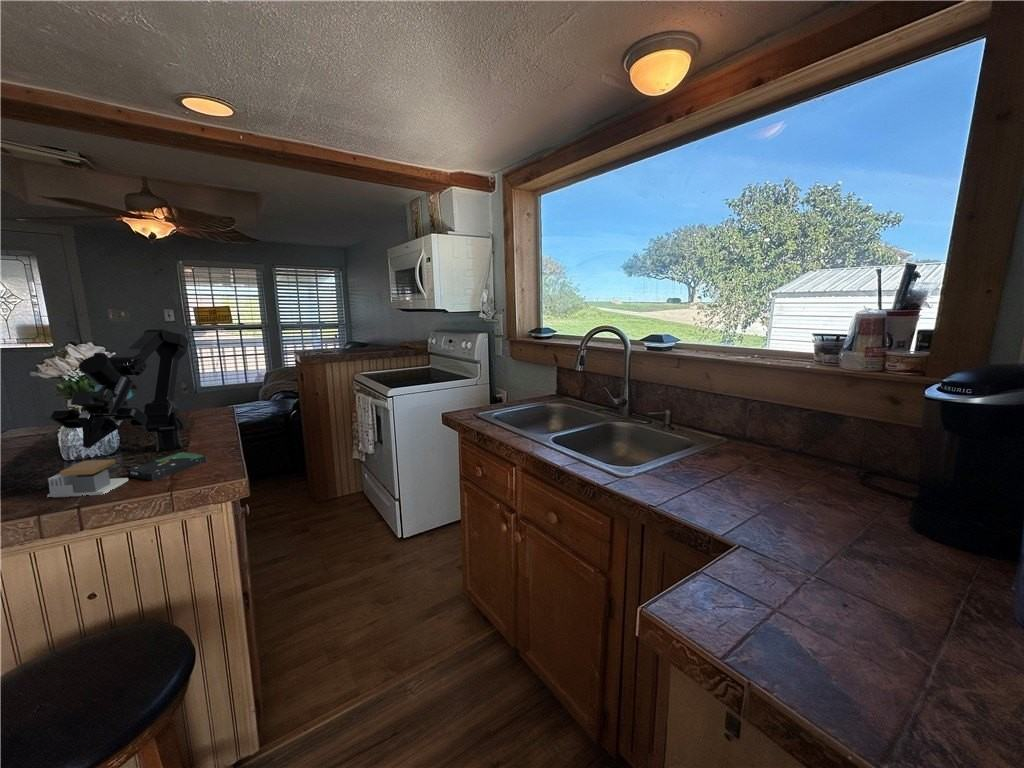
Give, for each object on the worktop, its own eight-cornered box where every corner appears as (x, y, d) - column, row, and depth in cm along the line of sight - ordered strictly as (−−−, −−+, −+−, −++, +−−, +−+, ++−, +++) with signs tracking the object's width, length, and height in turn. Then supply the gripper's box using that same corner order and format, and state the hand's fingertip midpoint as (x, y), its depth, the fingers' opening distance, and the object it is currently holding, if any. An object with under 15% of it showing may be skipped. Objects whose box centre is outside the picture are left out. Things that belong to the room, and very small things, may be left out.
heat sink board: (77, 483, 109) (73, 466, 109) (128, 480, 111) (125, 463, 110) (47, 497, 101) (43, 479, 100) (103, 494, 103) (99, 476, 102)
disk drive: (154, 483, 111) (208, 463, 125) (152, 473, 111) (206, 454, 125) (127, 478, 114) (183, 459, 128) (125, 469, 114) (181, 450, 128)
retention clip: (88, 482, 108) (84, 460, 107) (119, 480, 109) (115, 459, 108) (64, 494, 101) (59, 471, 100) (97, 492, 102) (93, 469, 101)
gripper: (48, 378, 104) (14, 434, 95) (132, 377, 107) (106, 431, 98) (81, 401, 113) (52, 454, 104) (158, 399, 116) (136, 450, 107)
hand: (86, 447), depth 103 cm, fingers closed
